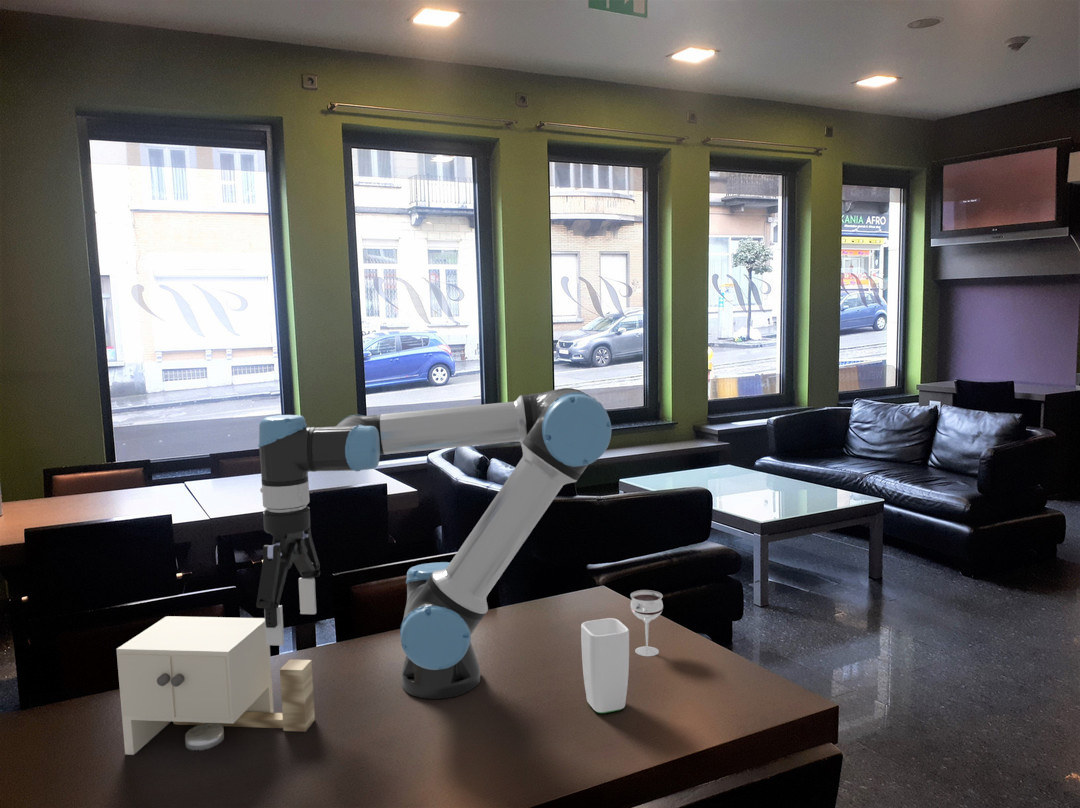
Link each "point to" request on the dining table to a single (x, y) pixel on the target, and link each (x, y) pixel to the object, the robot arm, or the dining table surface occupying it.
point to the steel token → (204, 736)
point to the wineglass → (646, 614)
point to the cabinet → (192, 674)
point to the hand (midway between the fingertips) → (292, 628)
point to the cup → (605, 663)
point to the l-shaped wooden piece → (284, 702)
